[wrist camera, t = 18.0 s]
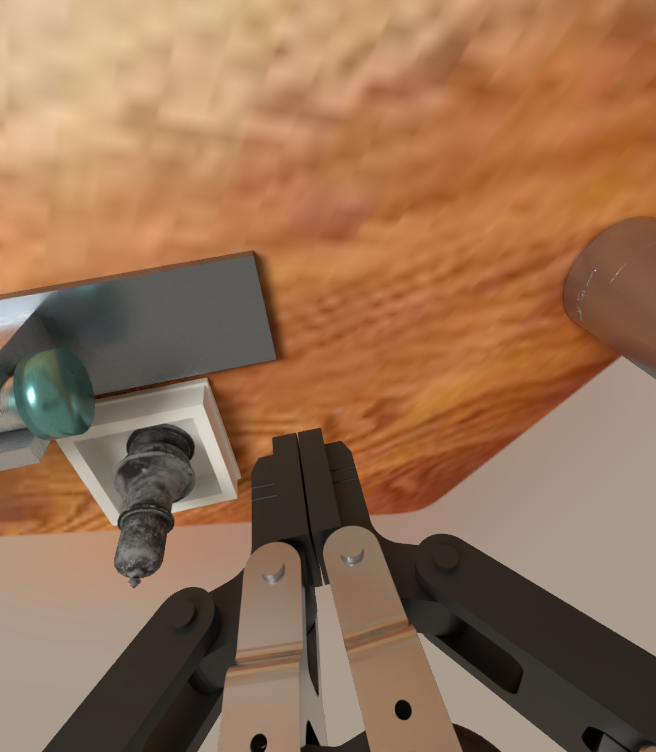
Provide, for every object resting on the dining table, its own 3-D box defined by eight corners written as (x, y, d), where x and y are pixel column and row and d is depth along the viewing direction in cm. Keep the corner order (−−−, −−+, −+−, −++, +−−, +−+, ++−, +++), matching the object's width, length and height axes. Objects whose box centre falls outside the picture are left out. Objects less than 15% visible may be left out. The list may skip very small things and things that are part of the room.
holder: (207, 377, 33) (205, 400, 30) (240, 473, 39) (241, 499, 37) (60, 406, 32) (46, 433, 30) (118, 500, 38) (111, 528, 36)
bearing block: (252, 250, 28) (259, 305, 21) (275, 352, 33) (286, 424, 26) (-102, 312, 26) (-221, 394, 19) (-25, 411, 31) (-99, 505, 24)
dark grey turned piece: (191, 476, 38) (176, 615, 28) (118, 468, 36) (74, 614, 26) (205, 426, 35) (194, 560, 25) (127, 414, 33) (82, 555, 23)
